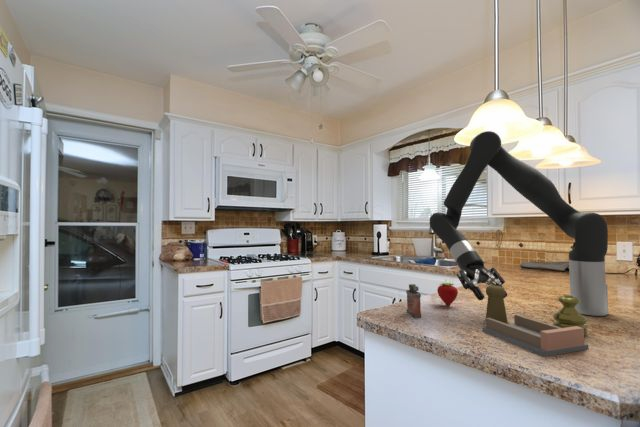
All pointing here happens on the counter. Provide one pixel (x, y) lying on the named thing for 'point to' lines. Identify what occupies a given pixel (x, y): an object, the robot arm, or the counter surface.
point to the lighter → (413, 301)
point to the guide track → (538, 335)
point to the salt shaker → (569, 314)
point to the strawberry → (447, 293)
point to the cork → (496, 304)
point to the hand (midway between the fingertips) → (493, 298)
